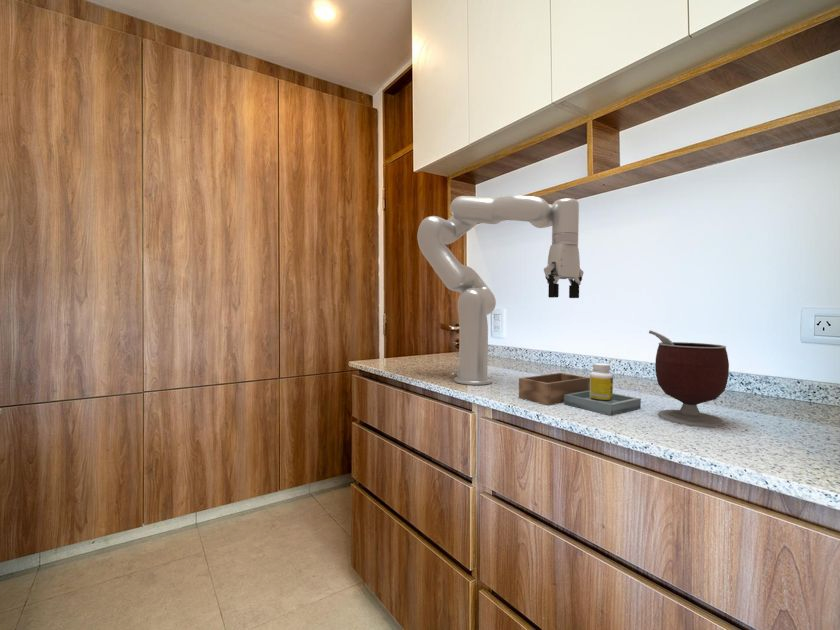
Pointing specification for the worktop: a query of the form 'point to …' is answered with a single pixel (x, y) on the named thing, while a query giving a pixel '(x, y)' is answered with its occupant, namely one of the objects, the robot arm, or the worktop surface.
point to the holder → (551, 387)
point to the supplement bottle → (601, 383)
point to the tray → (616, 407)
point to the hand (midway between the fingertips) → (563, 297)
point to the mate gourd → (691, 378)
